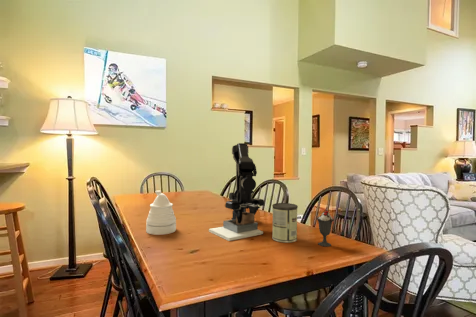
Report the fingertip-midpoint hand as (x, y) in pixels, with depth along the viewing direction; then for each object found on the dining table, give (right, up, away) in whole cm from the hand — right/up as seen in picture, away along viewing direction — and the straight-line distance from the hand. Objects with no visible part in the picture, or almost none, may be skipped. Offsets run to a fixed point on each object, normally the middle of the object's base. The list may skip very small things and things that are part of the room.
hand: (245, 222), depth 127 cm
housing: (-2, -2, -2) cm, 4 cm away
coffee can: (+16, -4, -12) cm, 20 cm away
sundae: (+31, -5, -19) cm, 36 cm away
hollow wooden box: (0, -1, 0) cm, 1 cm away
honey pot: (-38, -3, -3) cm, 38 cm away
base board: (-4, -4, -4) cm, 7 cm away
